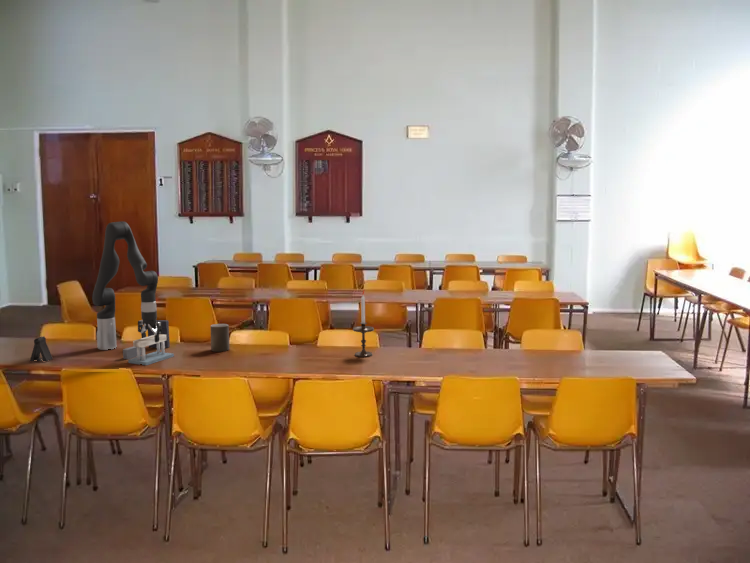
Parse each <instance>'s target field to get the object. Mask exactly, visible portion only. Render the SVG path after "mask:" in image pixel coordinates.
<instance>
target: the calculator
mask: <svg viewBox="0 0 750 563" xmlns="http://www.w3.org/2000/svg"><path fill="white" fill-rule="evenodd" d="M156 322H161V323H162V334H164V335H166V337H167V340H166V341H164V346H165V349H168V348H170V345H171V344H170V327H169V323H170V322H169V320H168V319H165V320H164V319H163V320H161V319H159V320H158V319H156ZM159 331H160V330H159ZM156 333H157V332H156ZM152 335H155V334H154V333H153V332H152V331H151V330H147V337H149V336H152ZM148 348H151V349H152V348H153V349H157V343H156V344H152V345H149V346H148ZM160 349H161V342H160Z"/></svg>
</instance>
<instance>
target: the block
mask: <svg viewBox="0 0 750 563" xmlns="http://www.w3.org/2000/svg"><path fill="white" fill-rule="evenodd" d="M140 355H141V356H142V348H141V347H140ZM136 357H137V347H133V346H130V347H126V348H123V349H122V358H123V360H130V359H133V358H136Z"/></svg>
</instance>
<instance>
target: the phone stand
mask: <svg viewBox="0 0 750 563" xmlns="http://www.w3.org/2000/svg"><path fill="white" fill-rule="evenodd" d="M46 338H47V337H45V335H44V336H39V337H37V338H34V340H33V343H34V344H33V347H32V348H33V349H32V353H31V356H30V359H29V362H30V361H34V360H37V361H42V360H43V361H47V362H49V361H51V360H53V356H52V353H51V351H50V349H49V346H48V343H47V341H46V340H47V339H46ZM41 359H42V360H41ZM48 360H49V361H48Z"/></svg>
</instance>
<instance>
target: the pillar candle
mask: <svg viewBox="0 0 750 563" xmlns="http://www.w3.org/2000/svg"><path fill="white" fill-rule="evenodd" d="M210 348H211V351H212V352H214V353H215V352H216V353H222V351H224V352H228V351H229V350H230V329H229V324H227V323H216V324H215V323H214V324H211V325H210ZM227 350H228V351H227Z"/></svg>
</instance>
